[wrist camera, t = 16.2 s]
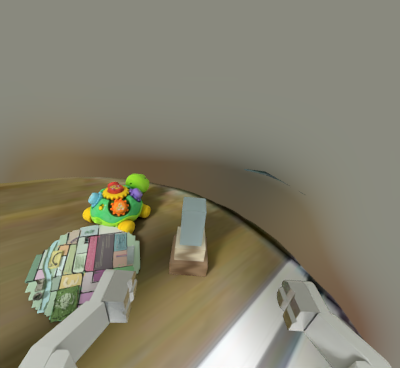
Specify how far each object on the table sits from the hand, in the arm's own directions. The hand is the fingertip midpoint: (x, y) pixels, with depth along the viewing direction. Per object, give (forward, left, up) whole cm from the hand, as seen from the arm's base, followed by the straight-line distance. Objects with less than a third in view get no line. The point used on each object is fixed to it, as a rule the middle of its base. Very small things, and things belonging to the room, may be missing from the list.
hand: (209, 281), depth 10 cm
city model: (-23, +23, -33) cm, 46 cm away
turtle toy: (-22, +44, -32) cm, 59 cm away
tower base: (0, +27, -32) cm, 42 cm away
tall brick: (0, +27, -24) cm, 36 cm away
